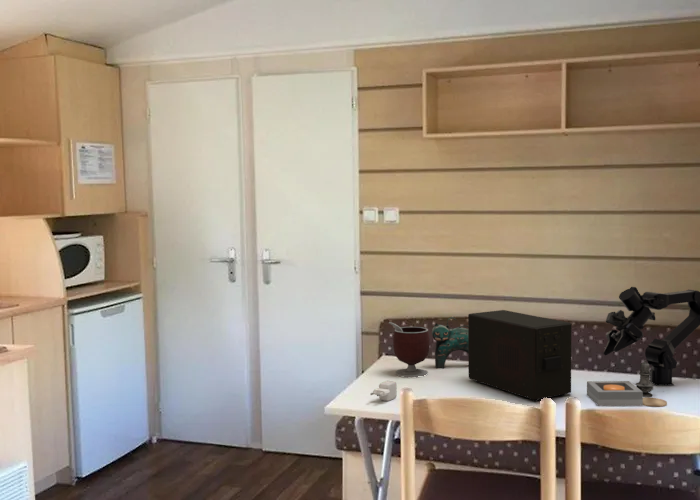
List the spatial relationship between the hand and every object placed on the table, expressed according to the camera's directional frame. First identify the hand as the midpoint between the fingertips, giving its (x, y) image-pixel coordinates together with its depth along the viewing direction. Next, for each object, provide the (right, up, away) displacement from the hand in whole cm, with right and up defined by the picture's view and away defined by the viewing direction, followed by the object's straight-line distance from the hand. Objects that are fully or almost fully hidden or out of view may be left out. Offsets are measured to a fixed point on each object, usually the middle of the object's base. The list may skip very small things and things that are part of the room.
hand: (609, 352), depth 263 cm
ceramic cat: (-47, -11, +41) cm, 63 cm away
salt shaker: (+10, -14, -5) cm, 18 cm away
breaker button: (-2, -12, -10) cm, 16 cm away
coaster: (+9, -14, -15) cm, 22 cm away
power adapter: (-78, -15, -7) cm, 80 cm away
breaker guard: (-2, -14, -10) cm, 17 cm away
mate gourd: (-66, -12, +31) cm, 74 cm away
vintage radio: (-28, -14, +7) cm, 32 cm away
